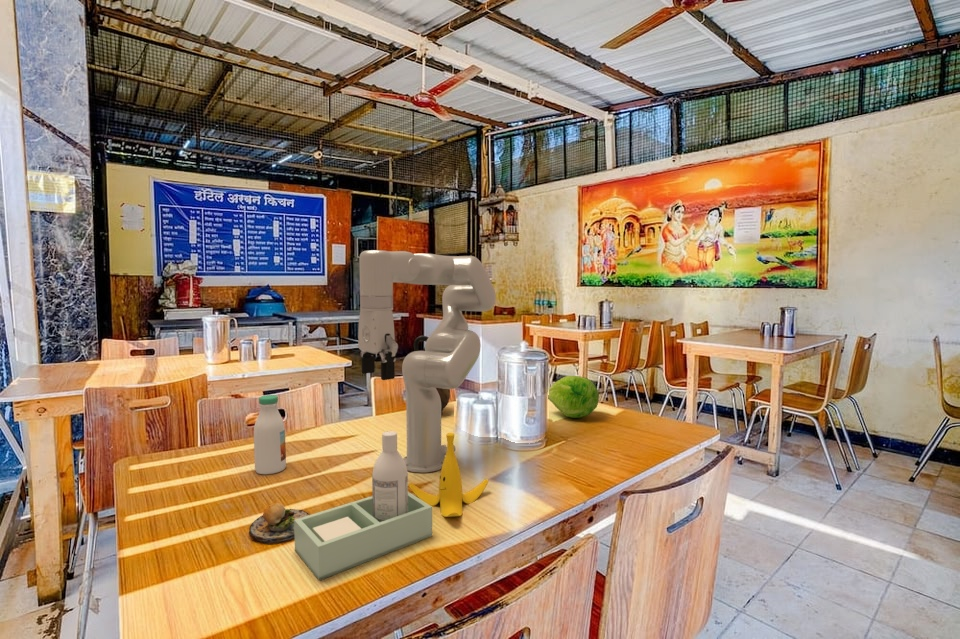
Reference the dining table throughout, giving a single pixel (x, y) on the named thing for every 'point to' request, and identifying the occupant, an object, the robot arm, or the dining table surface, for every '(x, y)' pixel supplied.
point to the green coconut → (574, 396)
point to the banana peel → (450, 486)
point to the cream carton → (335, 529)
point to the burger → (275, 524)
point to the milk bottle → (269, 437)
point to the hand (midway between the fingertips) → (377, 376)
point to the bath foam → (389, 481)
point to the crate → (359, 535)
